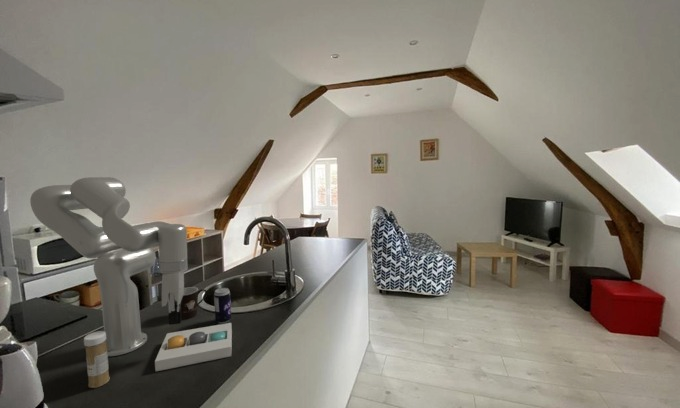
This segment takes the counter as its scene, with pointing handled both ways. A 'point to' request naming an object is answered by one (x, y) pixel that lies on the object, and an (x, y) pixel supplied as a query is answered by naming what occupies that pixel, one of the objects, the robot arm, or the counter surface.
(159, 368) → the panel
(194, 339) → the charcoal button
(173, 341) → the orange button
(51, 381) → the counter surface
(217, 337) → the teal button
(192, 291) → the coffee mug
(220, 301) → the beverage can
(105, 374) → the sprinkles bottle
